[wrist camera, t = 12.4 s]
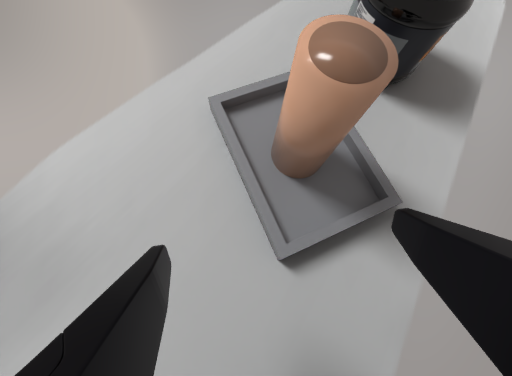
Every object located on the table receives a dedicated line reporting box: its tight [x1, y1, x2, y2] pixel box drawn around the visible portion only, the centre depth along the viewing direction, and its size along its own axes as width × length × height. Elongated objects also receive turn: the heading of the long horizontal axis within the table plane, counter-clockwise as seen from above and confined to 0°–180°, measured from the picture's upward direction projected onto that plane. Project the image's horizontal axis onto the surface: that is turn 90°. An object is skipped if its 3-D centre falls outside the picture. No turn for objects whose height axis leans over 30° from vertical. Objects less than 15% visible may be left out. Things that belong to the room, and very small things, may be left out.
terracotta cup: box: [271, 15, 398, 178], centre depth 18 cm, size 6×6×12 cm
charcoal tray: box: [208, 72, 402, 260], centre depth 24 cm, size 18×13×2 cm
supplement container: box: [348, 0, 474, 84], centre depth 24 cm, size 10×10×12 cm
